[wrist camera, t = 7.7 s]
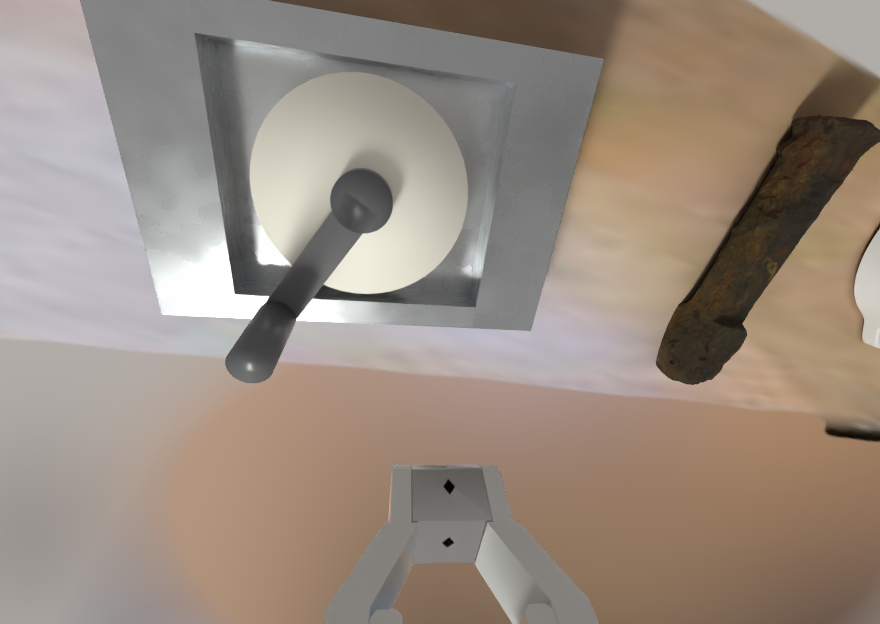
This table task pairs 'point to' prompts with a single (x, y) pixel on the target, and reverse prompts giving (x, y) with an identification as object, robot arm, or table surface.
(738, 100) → the table surface
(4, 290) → the table surface
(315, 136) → the crank
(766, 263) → the hand tool
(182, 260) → the panel
